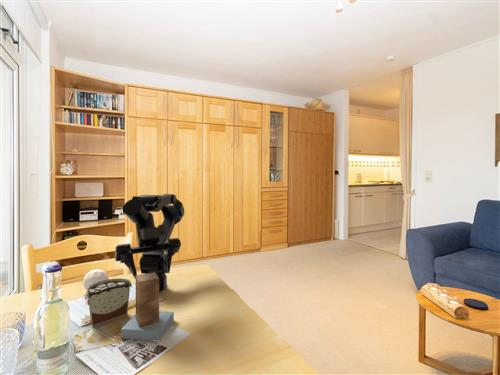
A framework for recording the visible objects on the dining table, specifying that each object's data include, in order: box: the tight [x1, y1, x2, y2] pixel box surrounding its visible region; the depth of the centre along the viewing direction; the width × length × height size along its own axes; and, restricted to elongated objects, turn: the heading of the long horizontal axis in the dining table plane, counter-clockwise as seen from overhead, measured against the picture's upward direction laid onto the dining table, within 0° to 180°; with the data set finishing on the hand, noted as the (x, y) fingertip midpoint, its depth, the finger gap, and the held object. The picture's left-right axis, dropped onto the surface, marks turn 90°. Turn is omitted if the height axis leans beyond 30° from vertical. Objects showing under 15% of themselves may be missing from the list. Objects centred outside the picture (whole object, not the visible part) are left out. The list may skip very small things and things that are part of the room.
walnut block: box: [135, 272, 160, 327], centre depth 75 cm, size 5×5×12 cm
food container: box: [84, 278, 133, 327], centre depth 81 cm, size 12×6×10 cm, turn 134°
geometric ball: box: [82, 268, 109, 291], centre depth 99 cm, size 8×8×8 cm
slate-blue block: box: [120, 310, 175, 341], centre depth 75 cm, size 10×10×3 cm
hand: (152, 275), depth 82 cm, fingers open, 9 cm apart
